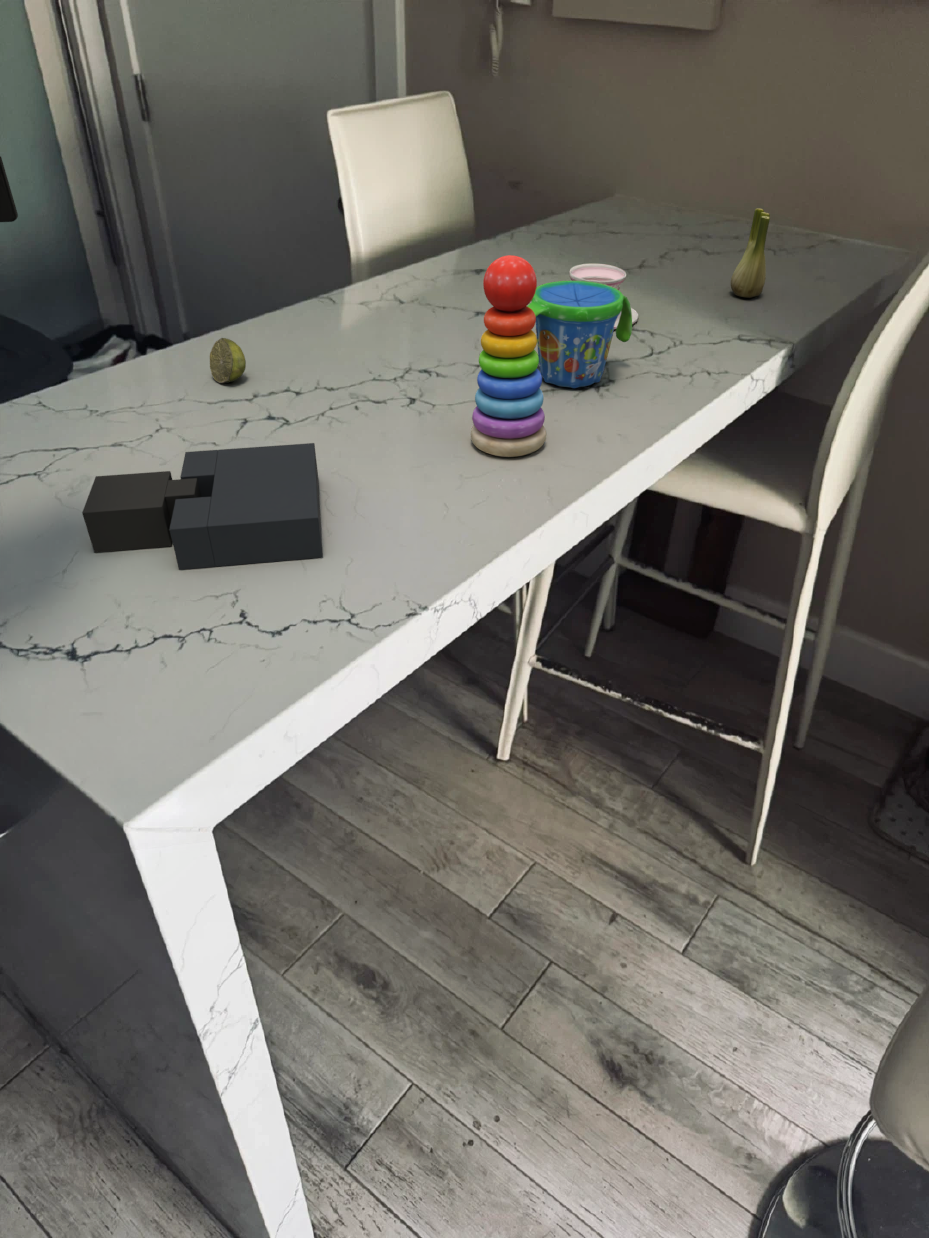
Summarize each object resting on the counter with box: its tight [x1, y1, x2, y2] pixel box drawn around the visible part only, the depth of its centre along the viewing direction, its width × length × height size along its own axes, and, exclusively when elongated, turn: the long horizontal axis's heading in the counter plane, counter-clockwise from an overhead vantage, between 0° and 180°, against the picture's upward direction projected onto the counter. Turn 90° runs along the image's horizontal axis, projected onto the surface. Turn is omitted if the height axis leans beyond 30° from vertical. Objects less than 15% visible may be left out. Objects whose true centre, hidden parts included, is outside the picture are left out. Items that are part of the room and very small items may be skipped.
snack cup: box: [527, 280, 633, 389], centre depth 103 cm, size 16×10×10 cm
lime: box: [209, 337, 247, 384], centre depth 104 cm, size 4×5×5 cm
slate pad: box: [169, 442, 324, 571], centre depth 78 cm, size 12×14×4 cm
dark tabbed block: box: [81, 470, 201, 554], centre depth 77 cm, size 9×6×4 cm
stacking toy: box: [470, 254, 547, 458], centre depth 86 cm, size 8×8×19 cm
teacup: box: [568, 263, 639, 330], centre depth 122 cm, size 12×12×6 cm
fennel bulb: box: [730, 207, 771, 298], centre depth 128 cm, size 6×5×12 cm
